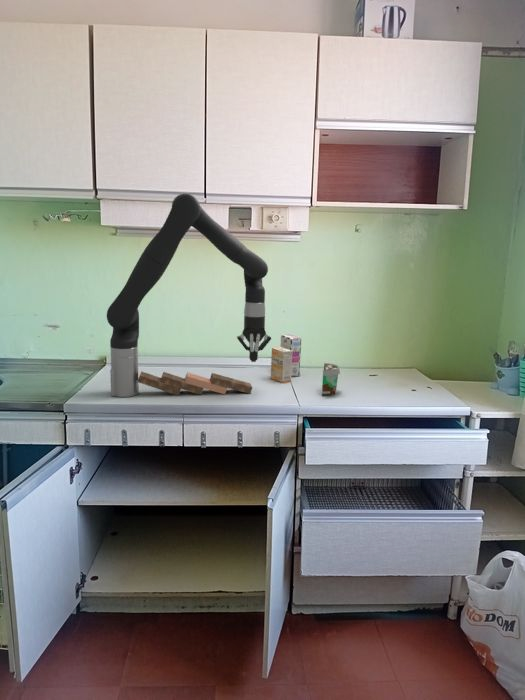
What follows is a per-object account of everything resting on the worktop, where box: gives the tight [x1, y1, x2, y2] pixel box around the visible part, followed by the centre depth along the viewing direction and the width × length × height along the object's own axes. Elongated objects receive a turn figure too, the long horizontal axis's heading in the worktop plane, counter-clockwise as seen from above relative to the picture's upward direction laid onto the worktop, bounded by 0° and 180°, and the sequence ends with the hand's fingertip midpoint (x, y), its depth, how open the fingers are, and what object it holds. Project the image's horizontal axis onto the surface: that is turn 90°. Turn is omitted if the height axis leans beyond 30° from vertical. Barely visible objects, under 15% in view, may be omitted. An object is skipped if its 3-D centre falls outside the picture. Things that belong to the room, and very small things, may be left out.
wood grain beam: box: [209, 372, 253, 394], centre depth 181 cm, size 2×6×15 cm
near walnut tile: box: [138, 371, 182, 396], centre depth 177 cm, size 2×6×15 cm
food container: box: [321, 362, 341, 397], centre depth 184 cm, size 12×6×10 cm, turn 171°
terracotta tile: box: [184, 372, 228, 395], centre depth 180 cm, size 2×6×15 cm
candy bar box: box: [280, 334, 302, 378], centre depth 210 cm, size 11×5×16 cm, turn 21°
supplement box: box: [270, 346, 293, 384], centre depth 199 cm, size 8×5×13 cm, turn 36°
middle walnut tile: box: [160, 371, 204, 395], centre depth 178 cm, size 2×6×15 cm
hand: (253, 361), depth 181 cm, fingers closed
